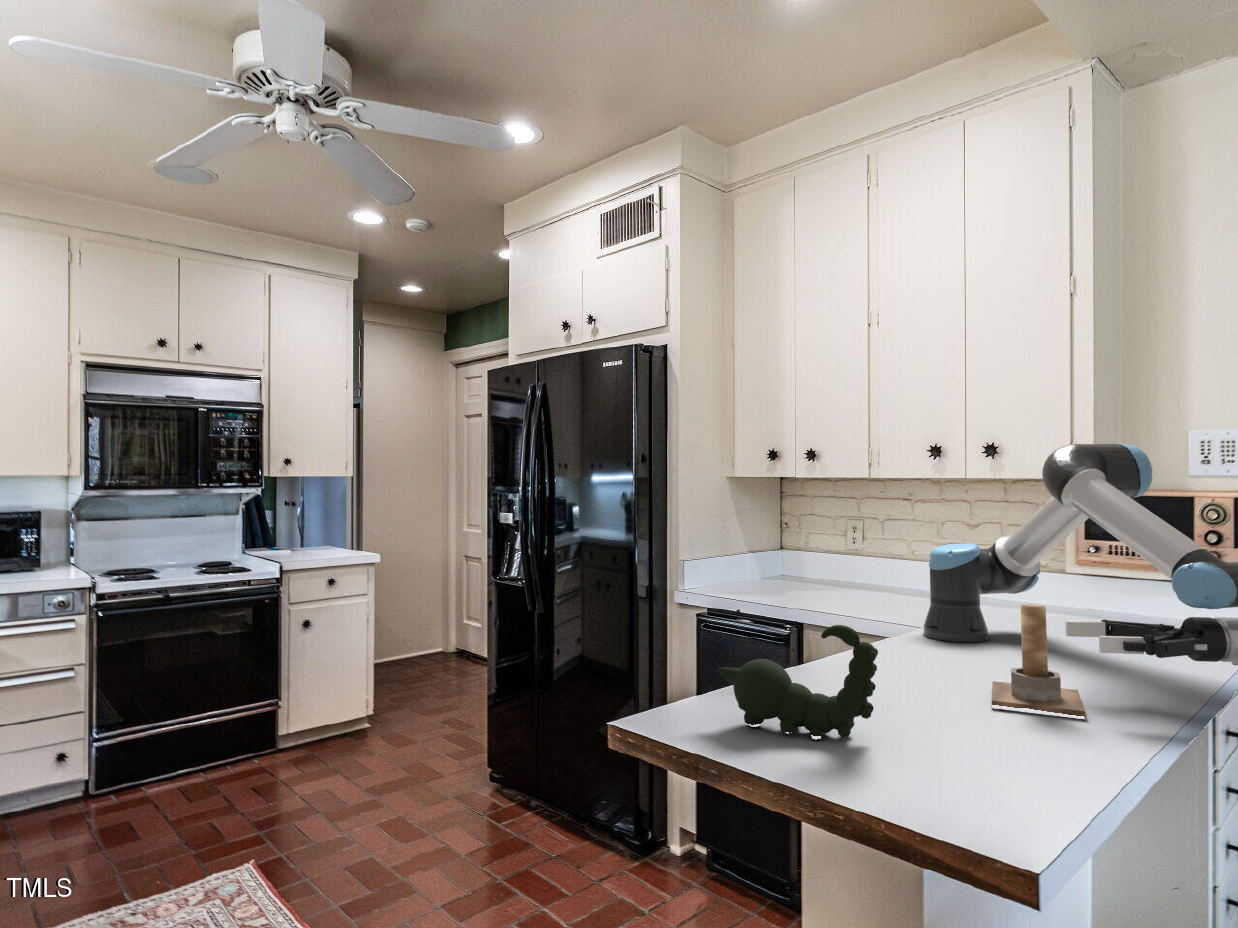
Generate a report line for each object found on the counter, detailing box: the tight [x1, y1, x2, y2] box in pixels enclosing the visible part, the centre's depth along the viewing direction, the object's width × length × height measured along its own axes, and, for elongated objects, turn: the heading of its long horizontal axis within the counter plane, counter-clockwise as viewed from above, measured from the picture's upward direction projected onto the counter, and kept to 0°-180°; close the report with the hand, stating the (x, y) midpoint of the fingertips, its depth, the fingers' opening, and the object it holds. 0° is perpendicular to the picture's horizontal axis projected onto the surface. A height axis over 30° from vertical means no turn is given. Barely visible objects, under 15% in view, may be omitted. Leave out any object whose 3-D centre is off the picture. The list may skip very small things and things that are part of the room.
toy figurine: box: [717, 624, 879, 738], centre depth 120 cm, size 9×19×25 cm
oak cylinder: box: [1020, 603, 1049, 677], centre depth 134 cm, size 4×4×16 cm
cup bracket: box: [991, 666, 1086, 718], centre depth 134 cm, size 14×14×6 cm
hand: (1082, 636), depth 133 cm, fingers open, 13 cm apart
